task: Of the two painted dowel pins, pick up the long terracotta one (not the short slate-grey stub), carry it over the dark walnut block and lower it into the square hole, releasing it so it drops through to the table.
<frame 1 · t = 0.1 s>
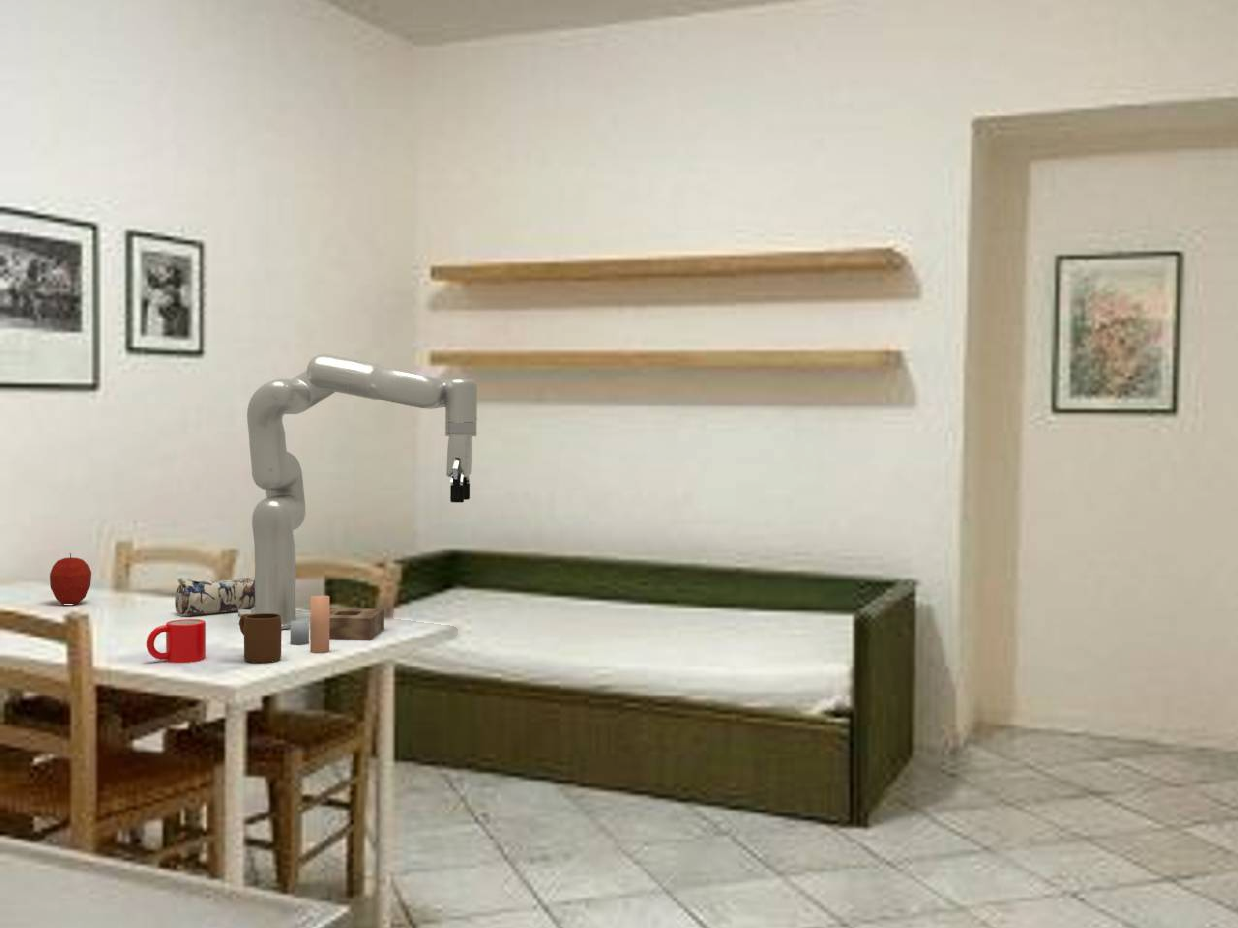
hand: (460, 500, 297), 31 cm above the table, fingers open, 9 cm apart
short pin: (299, 643, 278), on the table
mug: (256, 659, 260), on the table
pencil case: (220, 613, 319), on the table
long pin: (319, 651, 269), on the table
walnut hole block: (347, 634, 290), on the table
apple: (71, 605, 328), on the table
mug 2: (176, 661, 258), on the table
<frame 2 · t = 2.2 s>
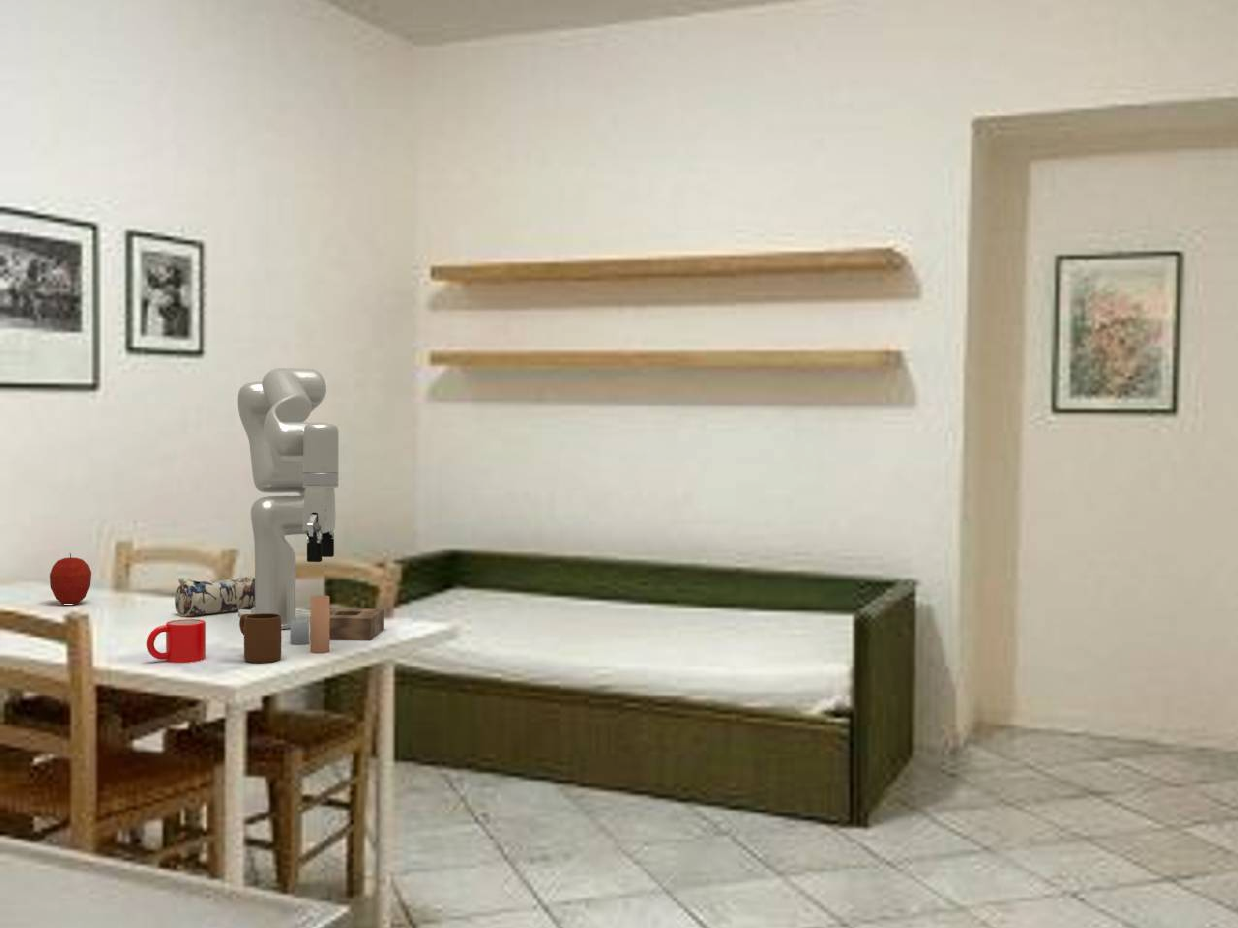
hand: (320, 559, 268), 20 cm above the table, fingers open, 9 cm apart
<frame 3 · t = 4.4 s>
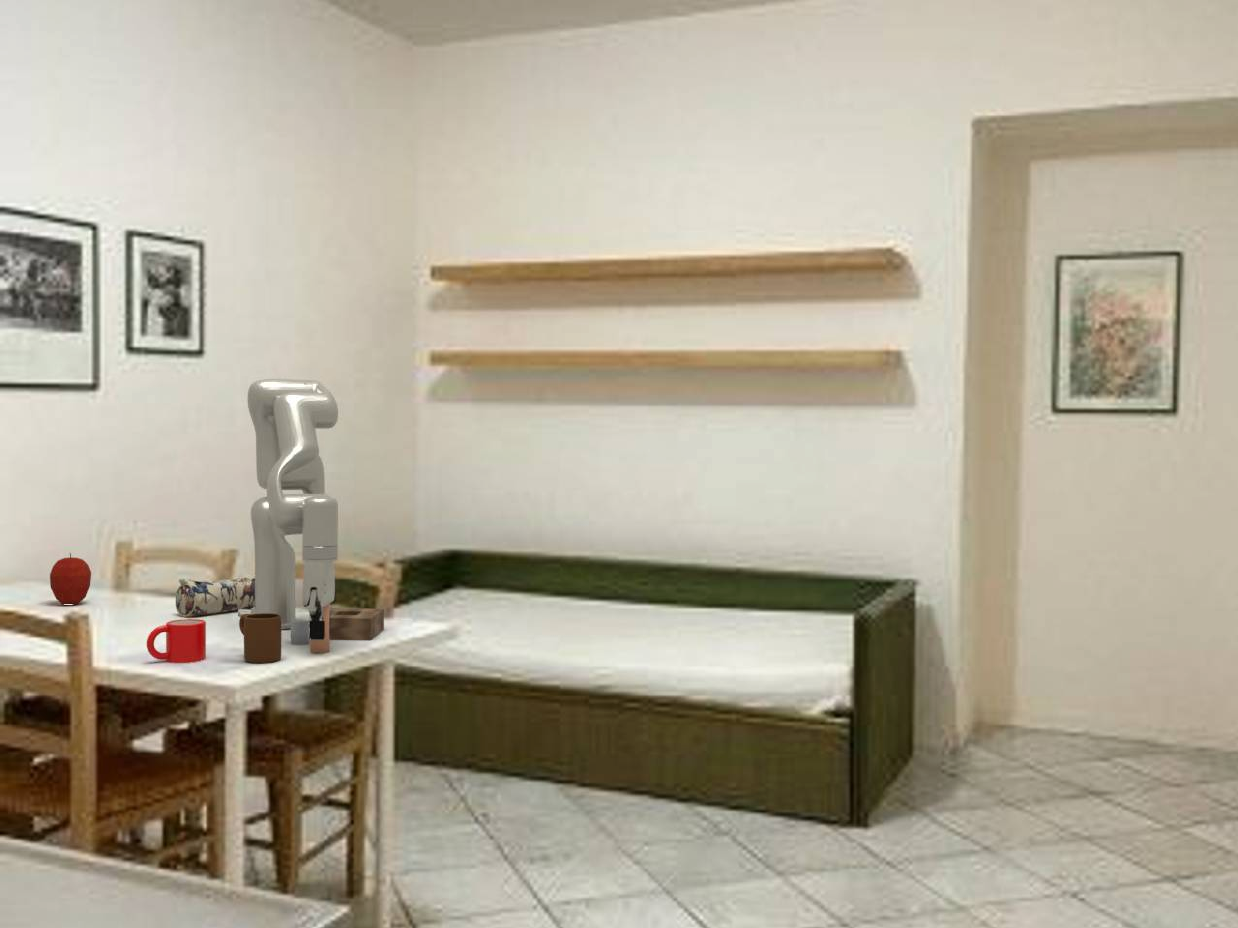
hand: (319, 636, 269), 3 cm above the table, fingers closed on long pin, 4 cm apart
long pin: (319, 651, 269), on the table, touching gripper
everything else where it was.
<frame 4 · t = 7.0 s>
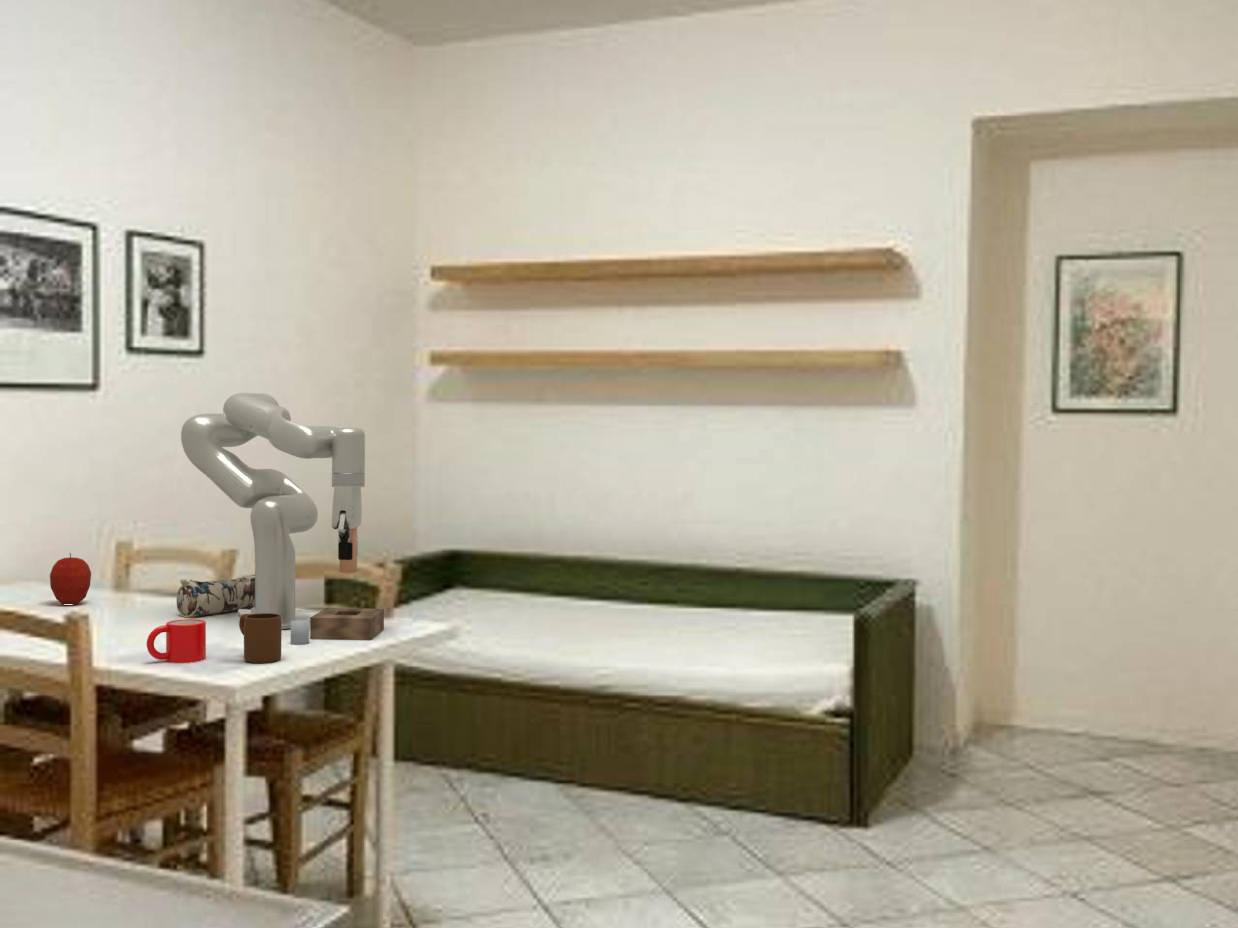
hand: (347, 557, 289), 18 cm above the table, fingers closed on long pin, 4 cm apart
long pin: (348, 571, 289), point 15 cm above the table, touching gripper
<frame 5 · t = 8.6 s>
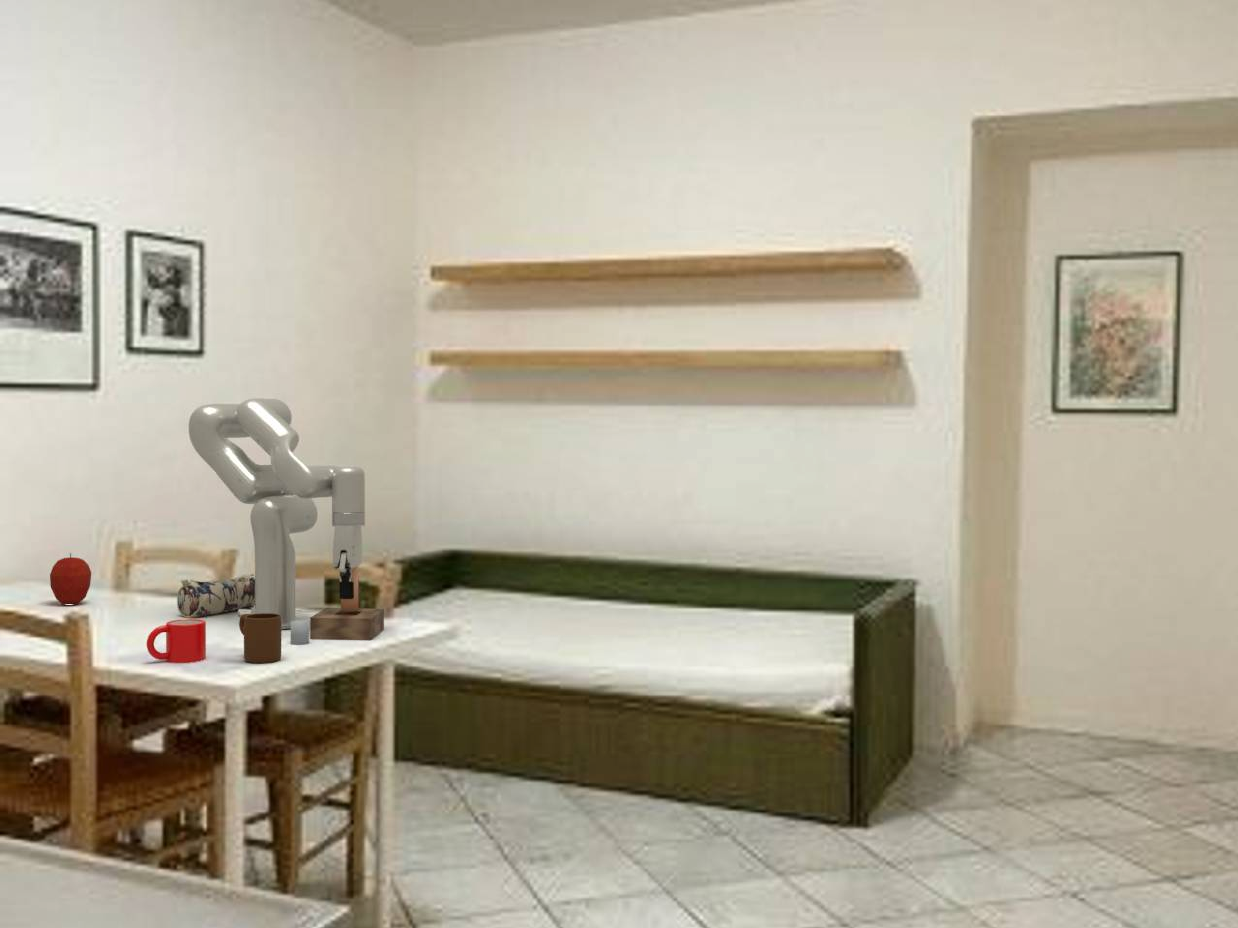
hand: (349, 596, 289), 9 cm above the table, fingers closed on long pin, 4 cm apart
long pin: (349, 610, 290), point 6 cm above the table, touching gripper
when the fingers open (6 cm above the table, at t = 9.6 s): long pin drops 2 cm, resting in walnut hole block.
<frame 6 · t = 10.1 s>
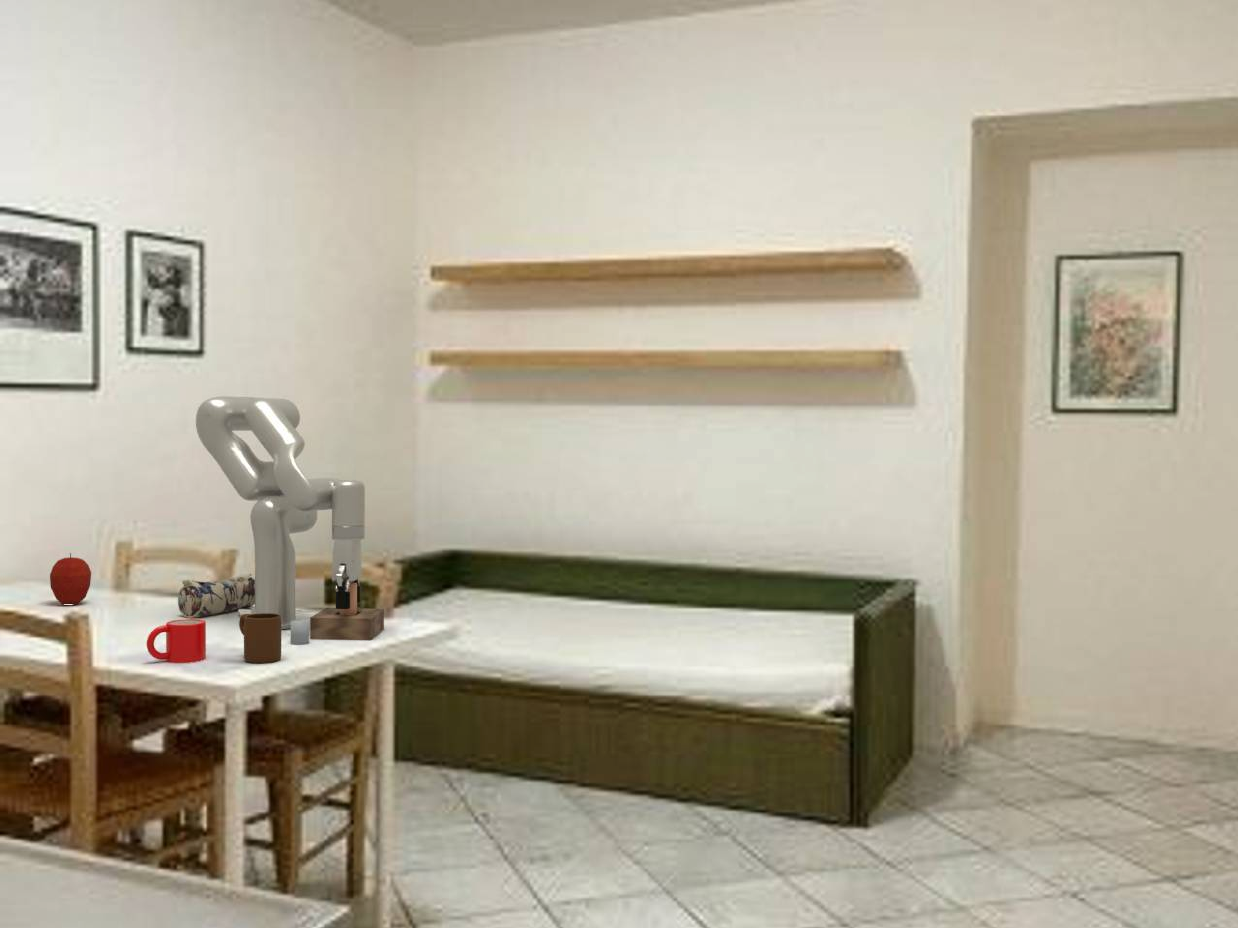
hand: (348, 605, 290), 7 cm above the table, fingers open, 9 cm apart
long pin: (348, 634, 290), resting in walnut hole block
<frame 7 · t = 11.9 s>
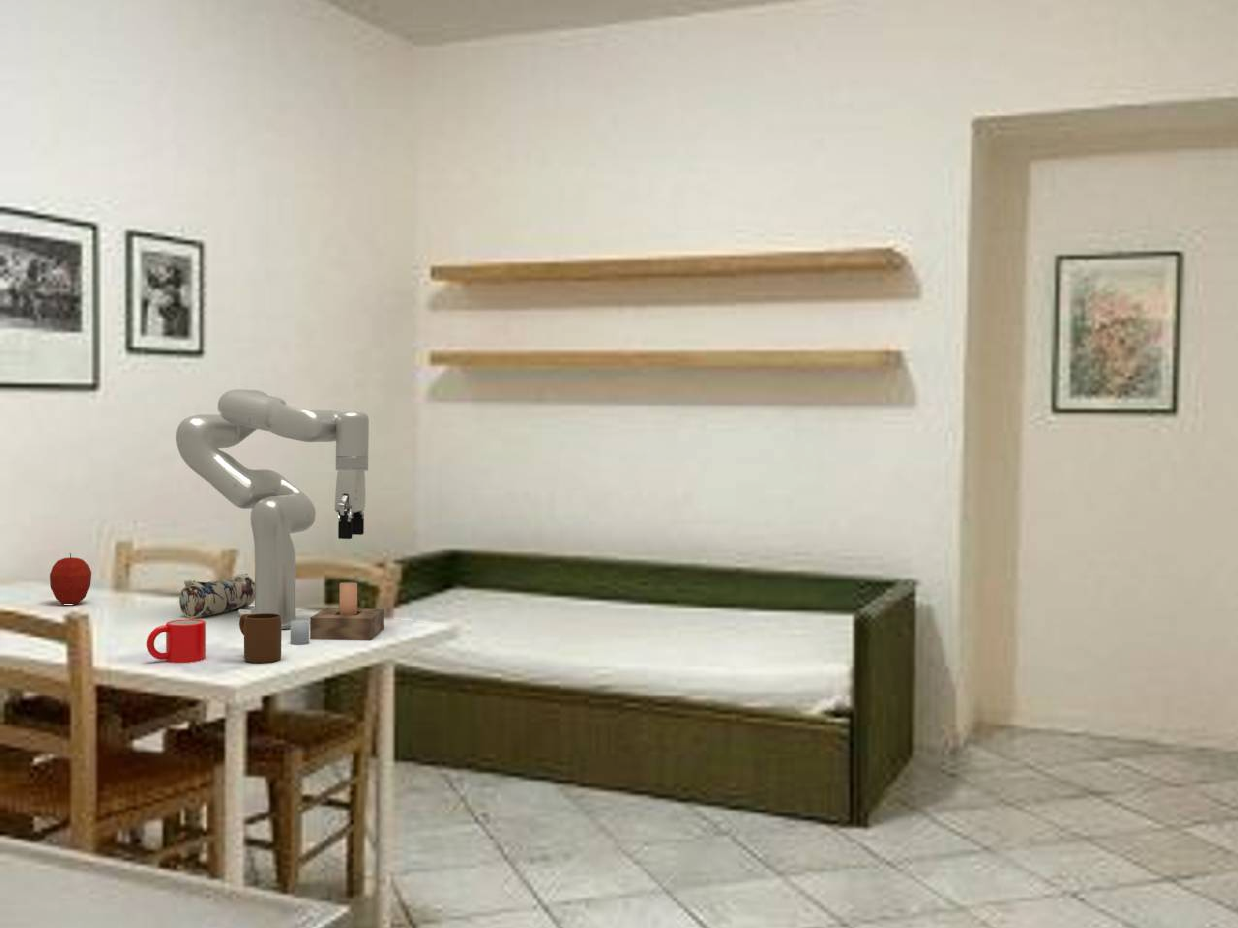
hand: (351, 536, 291), 23 cm above the table, fingers open, 9 cm apart
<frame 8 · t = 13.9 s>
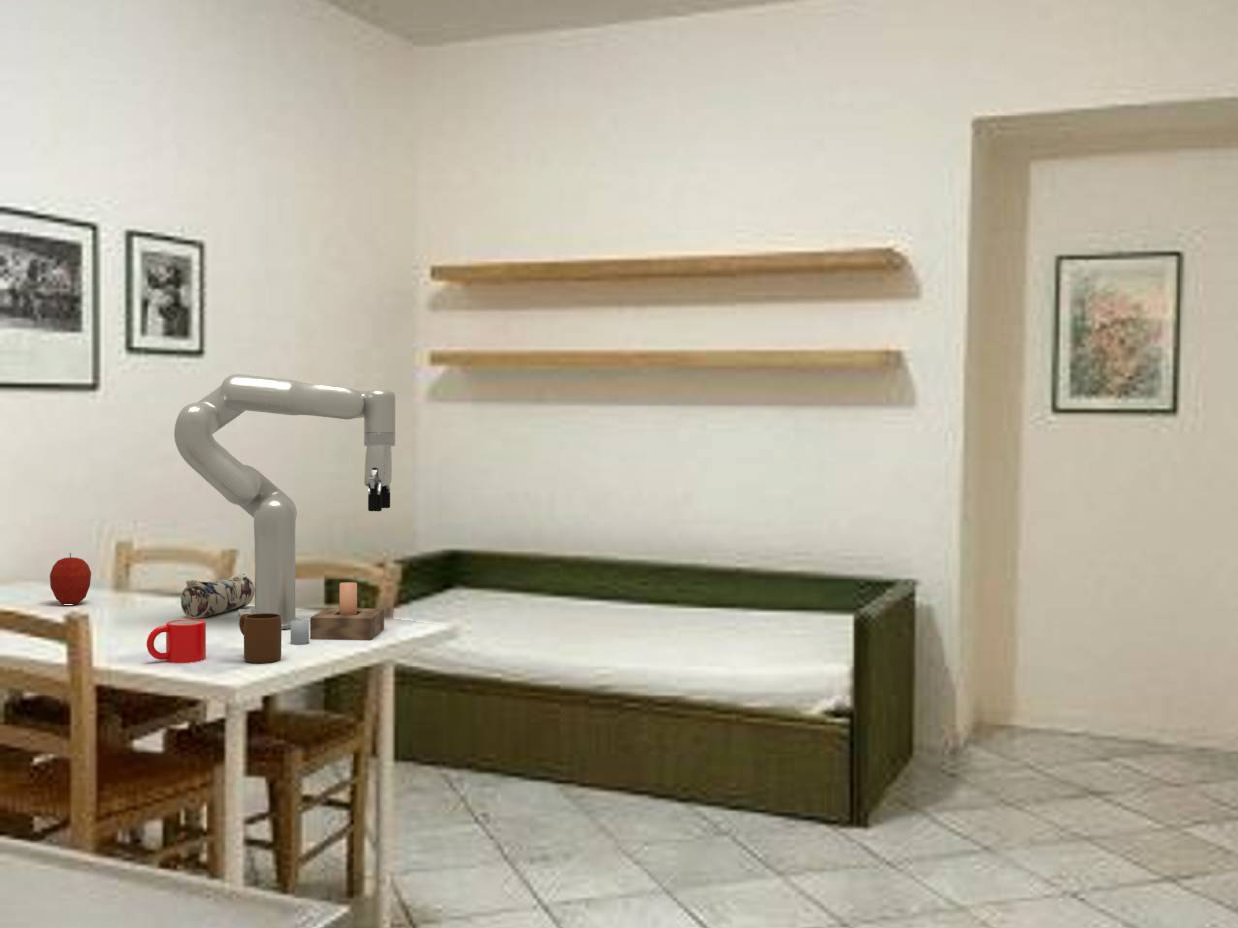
hand: (379, 509, 304), 28 cm above the table, fingers open, 9 cm apart
at the end: long pin 0.1 cm off-centre on the walnut hole block, point 0.0 cm above the walnut hole block's base; long pin tilted 0°; short pin moved 0.1 cm from its start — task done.
